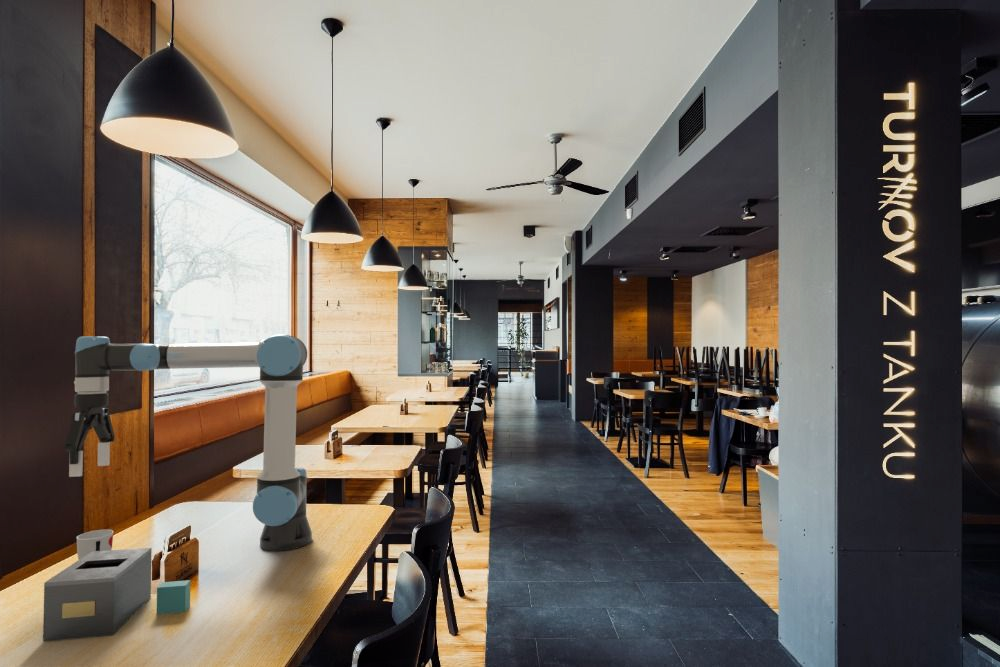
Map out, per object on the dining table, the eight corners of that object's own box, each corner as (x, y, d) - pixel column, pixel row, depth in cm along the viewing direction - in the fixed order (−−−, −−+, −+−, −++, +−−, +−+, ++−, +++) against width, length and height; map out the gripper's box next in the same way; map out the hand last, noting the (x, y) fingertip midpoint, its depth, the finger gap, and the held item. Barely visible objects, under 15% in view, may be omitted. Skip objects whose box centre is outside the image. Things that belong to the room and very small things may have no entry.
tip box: (150, 597, 133) (151, 547, 133) (112, 635, 115) (113, 577, 115) (90, 602, 130) (91, 551, 131) (42, 642, 112) (43, 583, 113)
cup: (92, 578, 144) (93, 540, 144) (67, 576, 146) (68, 538, 146) (120, 566, 152) (120, 530, 152) (95, 564, 154) (96, 528, 154)
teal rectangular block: (190, 606, 128) (190, 580, 129) (185, 611, 126) (185, 585, 126) (162, 608, 127) (162, 582, 128) (156, 614, 124) (156, 587, 125)
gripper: (101, 389, 161) (99, 462, 160) (47, 396, 137) (45, 482, 136) (129, 389, 162) (127, 461, 162) (81, 395, 138) (79, 480, 137)
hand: (90, 470), depth 149 cm, fingers open, 13 cm apart
